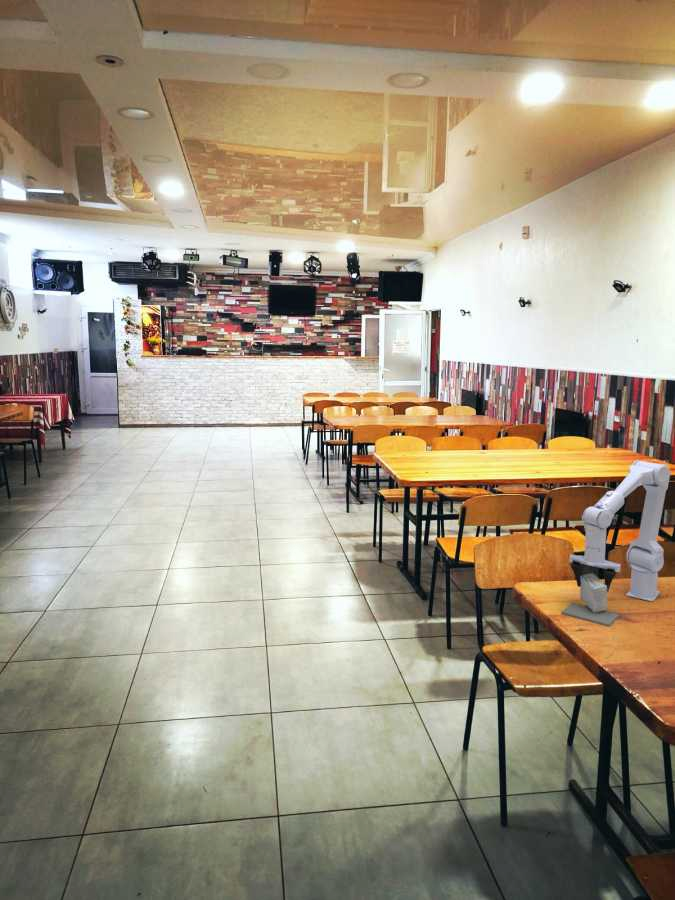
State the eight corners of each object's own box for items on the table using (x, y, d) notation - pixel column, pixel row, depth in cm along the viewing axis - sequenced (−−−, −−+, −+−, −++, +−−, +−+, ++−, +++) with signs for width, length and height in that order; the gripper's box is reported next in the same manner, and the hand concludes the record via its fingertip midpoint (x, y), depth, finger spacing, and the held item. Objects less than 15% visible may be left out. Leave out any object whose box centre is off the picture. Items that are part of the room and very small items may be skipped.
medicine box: (607, 610, 180) (607, 585, 177) (593, 613, 180) (593, 588, 177) (592, 596, 187) (593, 572, 185) (579, 599, 187) (579, 575, 184)
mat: (571, 604, 188) (571, 602, 188) (618, 616, 179) (619, 614, 178) (561, 613, 181) (561, 611, 181) (609, 626, 172) (609, 624, 172)
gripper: (566, 544, 183) (564, 586, 185) (616, 554, 173) (613, 598, 176) (574, 539, 188) (572, 580, 190) (623, 548, 179) (620, 591, 181)
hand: (592, 588), depth 183 cm, fingers open, 7 cm apart
